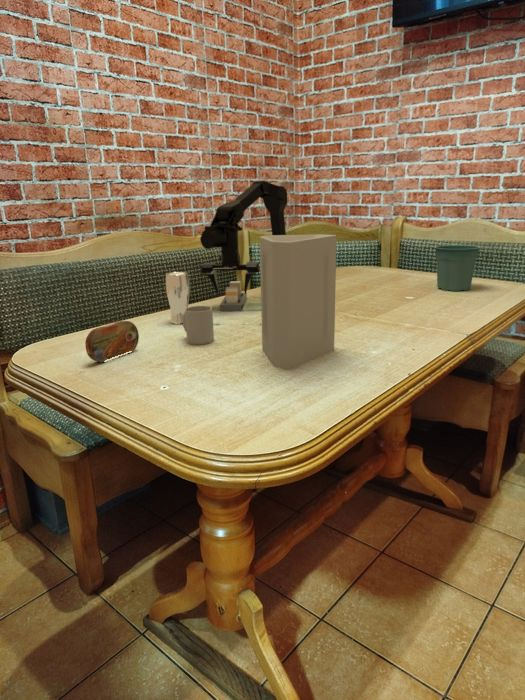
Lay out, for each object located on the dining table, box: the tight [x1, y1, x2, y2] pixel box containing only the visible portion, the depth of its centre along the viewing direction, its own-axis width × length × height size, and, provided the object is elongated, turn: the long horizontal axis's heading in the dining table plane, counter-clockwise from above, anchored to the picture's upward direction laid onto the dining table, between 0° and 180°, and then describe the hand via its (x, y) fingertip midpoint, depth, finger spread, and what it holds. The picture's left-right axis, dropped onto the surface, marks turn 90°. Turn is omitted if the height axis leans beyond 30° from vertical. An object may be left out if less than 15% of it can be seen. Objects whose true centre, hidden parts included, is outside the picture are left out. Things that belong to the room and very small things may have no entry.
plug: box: [225, 286, 238, 303], centre depth 168 cm, size 4×4×7 cm
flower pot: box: [434, 244, 481, 292], centre depth 194 cm, size 16×16×16 cm
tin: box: [84, 320, 140, 363], centre depth 123 cm, size 15×3×8 cm, turn 148°
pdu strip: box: [219, 280, 248, 313], centre depth 173 cm, size 7×20×8 cm, turn 177°
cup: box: [182, 305, 215, 346], centre depth 135 cm, size 7×10×9 cm
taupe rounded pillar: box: [259, 233, 338, 371], centre depth 119 cm, size 19×15×28 cm
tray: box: [242, 302, 261, 312], centre depth 169 cm, size 9×9×2 cm
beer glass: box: [165, 271, 190, 325], centre depth 154 cm, size 7×7×15 cm
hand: (231, 293), depth 168 cm, fingers open, 9 cm apart
